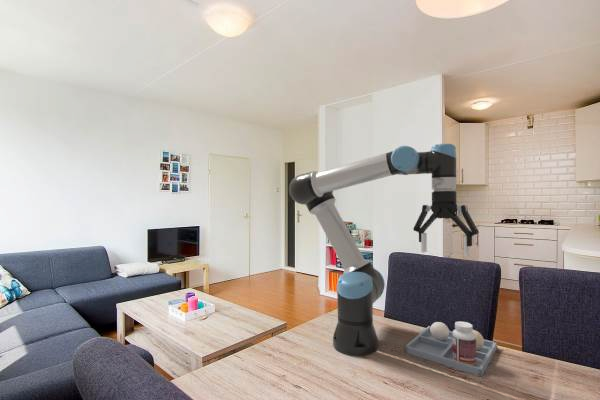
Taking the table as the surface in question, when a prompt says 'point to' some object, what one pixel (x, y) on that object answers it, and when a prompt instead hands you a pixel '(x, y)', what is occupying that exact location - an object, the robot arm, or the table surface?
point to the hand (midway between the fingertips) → (444, 254)
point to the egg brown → (478, 340)
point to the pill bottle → (464, 343)
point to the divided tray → (449, 352)
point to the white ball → (439, 331)
